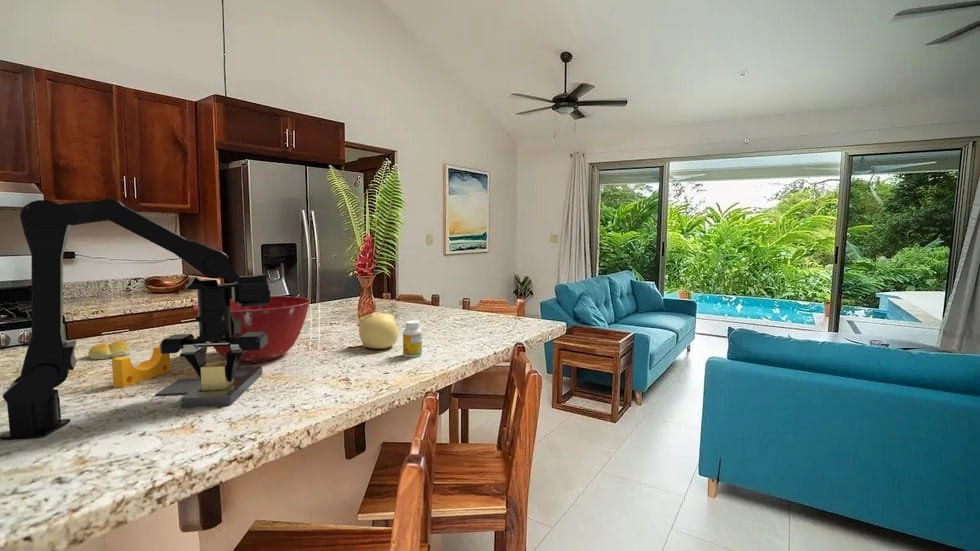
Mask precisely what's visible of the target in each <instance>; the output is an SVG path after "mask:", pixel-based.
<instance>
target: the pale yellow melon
mask: <svg viewBox="0 0 980 551" xmlns="http://www.w3.org/2000/svg"><path fill="white" fill-rule="evenodd" d="M395 319H396V316H395V315H393V314H391V313H388V312H381V311H375V312H371V313H370V314H366V315H365V316H362V317H359V318H358V324H359V325H358V334H359V338H360V341H361V343H362V345H363V346H364V347H366V348H370V349H387V348H390V347H392V346H394V345H396V342H397V341H398V338H399V327H398V324H397V321H396V320H395Z"/></svg>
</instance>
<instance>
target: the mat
mask: <svg viewBox="0 0 980 551" xmlns="http://www.w3.org/2000/svg"><path fill="white" fill-rule="evenodd" d="M199 384H201V379H200V377H194V378H193V377H191V378H178V379H177V380H175V381H173V382H172V383H170V384H169V385H167V386H166V387H164V388H162V389H161V390H159V391H158V392H156V393H155V395H154V396H155V397H158V396H159V397H162V396H181V395H182V396H184V395H186V394H187V393H189V392H190V391H191V390H193V389H194V388H195V387H197V386H198V385H199Z"/></svg>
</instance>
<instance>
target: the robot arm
mask: <svg viewBox="0 0 980 551" xmlns="http://www.w3.org/2000/svg"><path fill="white" fill-rule="evenodd" d="M19 216H20V223H21V225H22V229H23V233H24V237H25V240H26V242H27V246H28V248H29V251H30V254H31V256H30V257H31V336H30V339H29V342H28V345H27V350H26V352H25V353H26V354H25V356H24V360H23V363H22V364H23V365H22V368H21V371H20V375H19V376H17V378H16V379H14V380H13V381H12V383H11V384H10V385H9V387H8V388H7V390H6V391H4V393H3V395H2V399H3V400H4V401H5V403H6V406H7V408H6V409H7V417H8V428H9V429H8V430H9V431H8V432H5V433H3V434H1V435H0V440H12V439H13V440H14V439H27V438H42V437H45V436H47V435H49V434H51V433H53V432H54V431H57V430H58V429H59V428H61V427H63V426H65V425H66V424H69V423H70V422H71V418H62V412H61V403H60V402H61V401H60V396H59V390H58V389H56V388H57V387H59V386H60V385H62V384H63V383H65V381H66V379H67V378H68V375H69V373H70V372H71V371H73V370H74V369H75V367H76V364H77V362H78V359H77V358H76V356H75V349H76V345H77V340H68V341H67V339H66V337H65V334H64V325H63V324H64V323H63V322H64V321H63V320H64V313H63V312H64V253H65V249H66V246H67V243H68V241H69V237H70V236H69V235H70V231H71V227H72V226H79V225H85V224H92V223H99V222H101V223H102V222H107V221H108V222H112V223H114V224H116V225H118V226H120V227H121V228H124V229H125V230H127V231H130V232H131V233H133V234H135V235H137V236H139V237H141V238H143V239H145V240H147V241H149V242H150V243H152V244H155V245H156V246H159V247H161V248H163V249H165V250H166V251H168V252H171V253H172V254H173V255H175V256H177V258H179V259H181V261H184V263H186V264H187V265H189V266H190V267H191V268H192V269H194V270H196V271H197V272H199V274H201V275H203V276H204V277H207V278H211V279H205V280H204V279H203V280H202V279H201V280H200V279H198V277H196V276H194V277H192V279H191V281H190V282H188V283H187V284H185V288H186V289H187V290H189V291H192V290H196V291H197V292H196V294H197V305H198V315H197V316H195V322H196V323H197V322H198V332H199V333H198V334H199V335H198V336H196V337H195V336H194V334H193V333H179V334H178V333H177V334H176V333H175V334H173V335H172V334H171V335H170V336H167V337H165V338H163V339H162V340H161V342H160V344H159V346H160V353H162V354H166V353H170V354H177V353H179V352H180V350H181V353H180V354H179V357H180V358H184V359H185V360H186V361H187V362H188V363H189V364H190V366H191V367H192V368H193V370H194V371H195V372H196V374H197V376H198V378H200V379H201V367H202V366H204V365H205V364H207V357H206V356H207V352H208V348H209V347H210V348H211V347H213V348H214V347H216V346H231V350H230V351H229V352H227V353H226V358H225V359H226V361H227V377H228V381H229V382H231V381H232V380H233V377H234V374H235V371H236V368H237V367H238V365H239V363H240V362H239V360H240V358H241V356H242V354H243V353H245V352H246V351H250V350H260V349H262V348H263V347H264V346H265V345H267V344H268V337H267V334H266V333H265V332H247V333H246V334H244V335H242V336H241V337H232V335H235V336H236V335H240V332H241V321H239V320H237V319H234V318H233V311H230V299H232V300H233V303H237V302H238V305H239V307H247V306H259V305H268V304H269V303H270V296H271V290H270V289H269V288H270V287H269V283H268V280H267V275H266V274H255V275H242V276H241V275H239V273H238V272H236V271H235V270H234V269H233V268H232V267H231V261H230V260H231V259H230V257H229V256H228V255H227V253H225V252H223V251H221V250H218V249H216V248H213V247H210V246H207V245H205V244H202V243H200V242H196V241H193V240H190V239H187V238H185V237H183V236H182V235H180V234H178V233H176V232H175V231H172V230H171V229H168V228H167V227H164V226H163V225H161V224H159V223H157V222H155V221H154V220H152V219H150V218H148V217H146V216H145V215H143V214H141V213H139V212H137V211H135V210H133V209H131V208H130V207H128V206H126V205H125V204H123V202H121V201H119V200H118V199H114V198H109V197H108V198H104V199H101V200H92V201H91V200H90V201H89V200H88V201H81V202H70V203H69V202H68V203H58V202H55V201H52V200H48V199H47V200H46V199H41V200H40V199H38V200H37V199H36V200H34V201H30V202H29V203H28V204H26V205H24V206H23V207H22V209H21V210H20V213H19ZM216 278H221V279H223V280H225V281H227V282H228V283H218V280H217V279H216ZM230 288H231V293H230ZM230 294H231V295H230ZM219 341H220V342H219ZM221 341H222V342H221ZM223 341H224V342H223ZM225 341H226V342H225ZM210 342H211V343H210ZM212 342H213V343H212Z"/></svg>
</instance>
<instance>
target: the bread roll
mask: <svg viewBox="0 0 980 551" xmlns="http://www.w3.org/2000/svg"><path fill="white" fill-rule="evenodd" d="M131 351H132V349H131V345H130V344H129V343H127V342H125V341H120V340H117V341H113V342H111V343H99V344H96V345H94V346H92V347H91V348H89V350H88V352H87V353H88V357H89V359H91V360H96V359H102V360H109V358H110V359H114V358H117V357H127V356H128V355H130V354H131ZM126 355H127V356H126Z"/></svg>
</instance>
